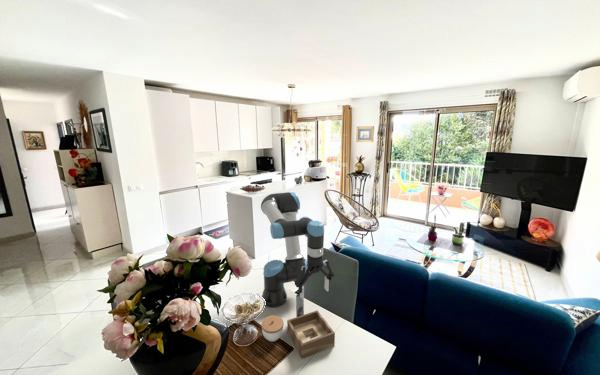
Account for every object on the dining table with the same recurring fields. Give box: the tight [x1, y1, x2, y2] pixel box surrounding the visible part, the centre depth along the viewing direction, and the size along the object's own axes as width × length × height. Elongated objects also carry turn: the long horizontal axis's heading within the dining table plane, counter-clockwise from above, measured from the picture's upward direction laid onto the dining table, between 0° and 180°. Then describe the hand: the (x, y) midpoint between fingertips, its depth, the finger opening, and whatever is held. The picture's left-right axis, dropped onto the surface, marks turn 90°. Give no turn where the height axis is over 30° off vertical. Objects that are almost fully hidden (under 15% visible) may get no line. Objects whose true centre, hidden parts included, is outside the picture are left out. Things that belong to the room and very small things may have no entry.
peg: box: [295, 293, 305, 318], centre depth 133 cm, size 4×4×14 cm
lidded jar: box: [260, 315, 285, 342], centre depth 122 cm, size 11×11×9 cm
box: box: [286, 310, 336, 360], centre depth 120 cm, size 17×17×7 cm
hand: (314, 293), depth 121 cm, fingers open, 13 cm apart
